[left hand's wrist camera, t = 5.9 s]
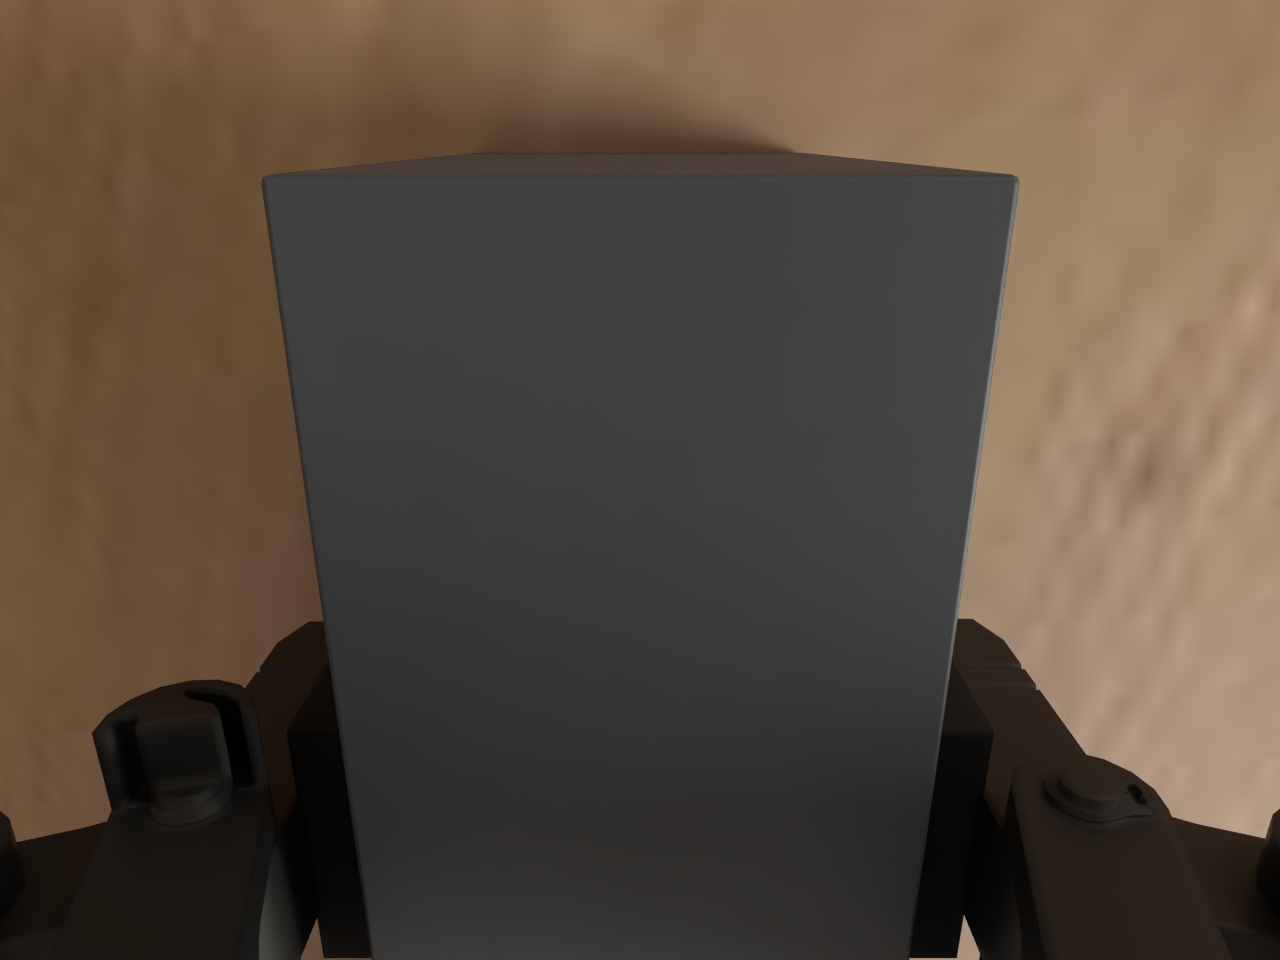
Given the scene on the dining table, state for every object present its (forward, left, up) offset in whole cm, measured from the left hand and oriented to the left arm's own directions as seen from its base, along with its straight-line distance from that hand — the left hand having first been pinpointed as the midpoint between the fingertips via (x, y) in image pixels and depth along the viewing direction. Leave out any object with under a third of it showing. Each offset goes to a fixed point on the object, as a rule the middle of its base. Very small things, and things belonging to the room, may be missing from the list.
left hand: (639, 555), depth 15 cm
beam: (+23, +10, -1) cm, 25 cm away
